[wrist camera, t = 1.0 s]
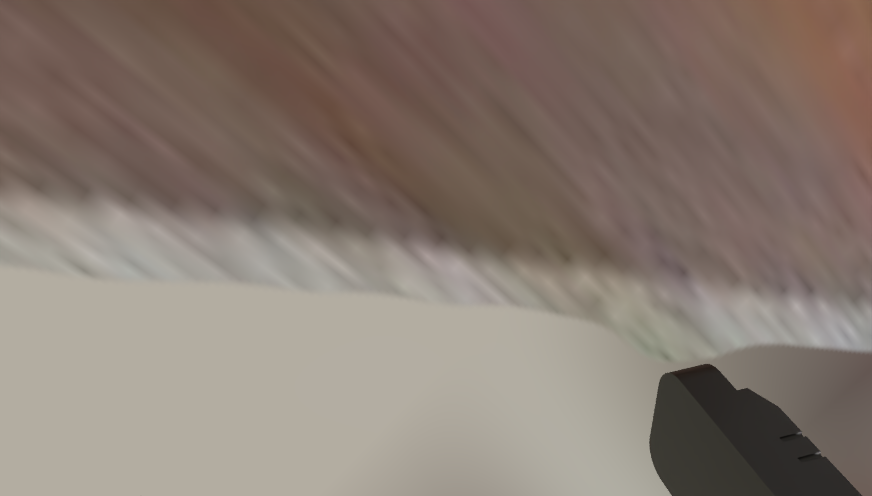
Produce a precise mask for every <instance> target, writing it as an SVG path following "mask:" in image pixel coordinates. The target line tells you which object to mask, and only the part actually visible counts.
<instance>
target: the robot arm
mask: <svg viewBox="0 0 872 496" xmlns="http://www.w3.org/2000/svg"><path fill="white" fill-rule="evenodd" d="M649 443H650V453H651V458H652V461H653V464H654V467H655V469H656V471H657V473H658V475H659V477H660V479H661V480H662V482H663V483H664V485H665V486H666V488H667V489H668V490H669V492H670V493H671V495H672V496H862V495H861V494H860V493H859V492H858V491H857V490H856V489H855V488H854V487H853V486H852V485H851V484H850V482H849V481H848V480H847V479H846V478H845V477H844V476H843V475H842V474H841V473H840V472H839V471H838V470H837V469H836V467H835V466H834V465H833V464H832V463H831V462H830V461H829V460H828V459H827V458H826V457H822V456H821V453H820V451H819V450H818V448H817V447H816V446H815V445H814V444H813V443H812V442H811V441H810V440H809V439H808V438H807V437H806V436H805V437H803V436H802V431H800V429H799V428H798V427H797V426H796V425H795V424H794V423H793V422H792V421H791V420H790V419H789V417H788V416H787V415H786V414H785V413H784V412H783V411H782V410H781V409H780V408H779V407H778V406H776V405H775V404H773V403H771V402H769V401H768V400H766V399H765V398H763V397H761V396H760V395H758V394H756V393H755V392H753V391H751V390H750V389H748V388H746V389H741V390H736V389H735V388H734V387H733V386H732V384H731V383H730V382H729V381H728V380H727V379H726V378H725V377H724V376H723V375H722V374H721V372H720V371H719V370H718V369H717V368H716V367H714V366H712V365H710V364H703V365H699V366H695V367H691V368H686V369H682V370H678V371H674V372H670V373H665V374H664V375H663V376H662V377H661V379H660V382H659V387H658V394H657V398H656V404H655V410H654V416H653V422H652V428H651V434H650V442H649Z"/></svg>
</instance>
